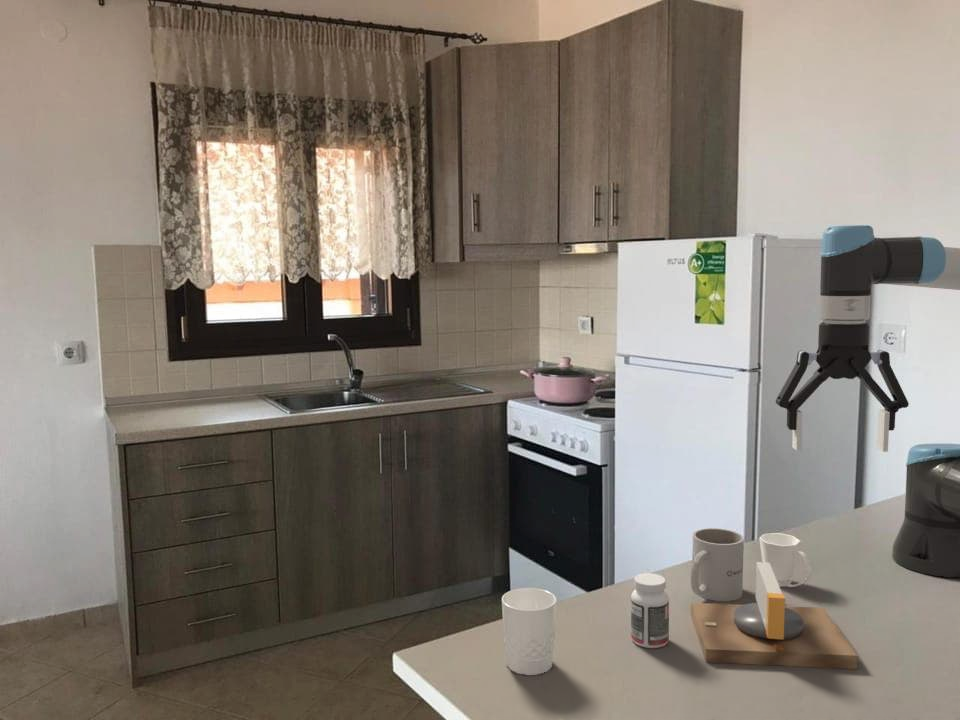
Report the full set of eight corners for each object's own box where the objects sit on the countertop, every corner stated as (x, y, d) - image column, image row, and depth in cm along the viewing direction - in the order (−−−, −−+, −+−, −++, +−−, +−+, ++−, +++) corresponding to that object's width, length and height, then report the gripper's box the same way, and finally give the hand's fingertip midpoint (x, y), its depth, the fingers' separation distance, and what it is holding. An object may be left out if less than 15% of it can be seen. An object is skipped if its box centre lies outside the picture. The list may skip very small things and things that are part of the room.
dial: (729, 602, 131) (730, 559, 130) (794, 607, 129) (796, 563, 128) (739, 643, 117) (740, 595, 116) (812, 649, 115) (813, 600, 114)
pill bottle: (670, 635, 126) (671, 574, 124) (666, 651, 120) (667, 588, 119) (633, 630, 127) (634, 570, 126) (628, 646, 122) (628, 583, 121)
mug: (714, 577, 148) (715, 525, 147) (752, 593, 141) (754, 538, 140) (666, 593, 141) (667, 538, 140) (704, 610, 134) (706, 553, 133)
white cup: (540, 683, 112) (540, 615, 111) (492, 669, 116) (491, 602, 115) (565, 659, 118) (565, 594, 117) (519, 646, 123) (518, 583, 121)
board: (823, 619, 130) (823, 606, 130) (857, 669, 114) (857, 654, 114) (690, 614, 133) (690, 601, 133) (705, 662, 117) (706, 647, 117)
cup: (776, 571, 150) (777, 530, 149) (822, 590, 142) (823, 546, 141) (749, 579, 147) (750, 536, 146) (795, 598, 138) (796, 553, 137)
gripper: (770, 324, 128) (766, 453, 131) (935, 322, 126) (928, 455, 128) (759, 320, 136) (756, 443, 138) (915, 319, 133) (909, 444, 136)
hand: (839, 449), depth 133 cm, fingers open, 13 cm apart
